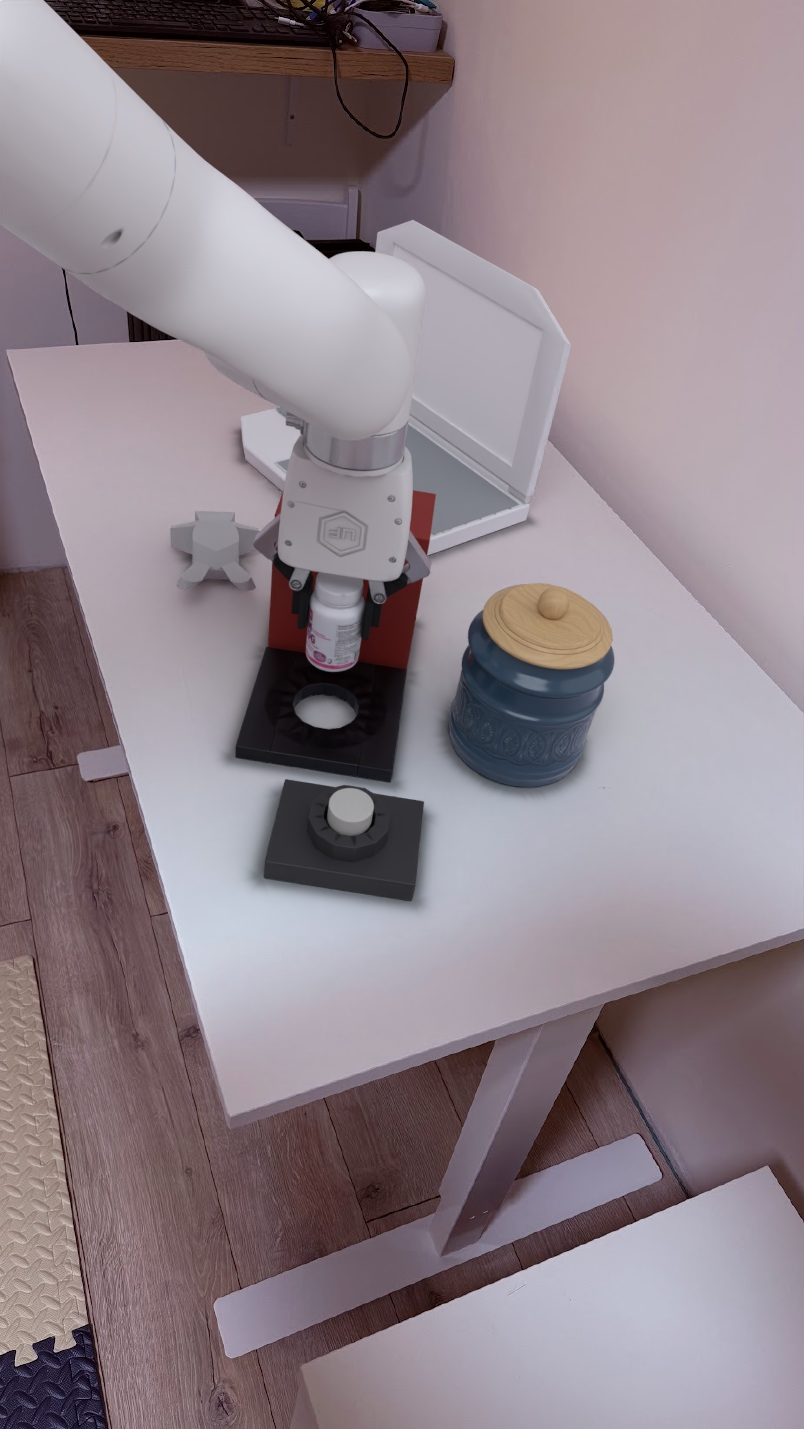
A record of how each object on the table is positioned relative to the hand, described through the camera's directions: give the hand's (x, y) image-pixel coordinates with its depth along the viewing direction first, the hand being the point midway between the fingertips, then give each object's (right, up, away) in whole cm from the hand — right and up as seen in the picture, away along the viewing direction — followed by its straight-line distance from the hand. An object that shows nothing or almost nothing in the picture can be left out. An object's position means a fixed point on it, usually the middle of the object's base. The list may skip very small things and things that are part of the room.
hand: (335, 623), depth 87 cm
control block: (+1, -19, -3) cm, 19 cm away
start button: (+1, -16, -6) cm, 17 cm away
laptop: (+2, +22, +40) cm, 45 cm away
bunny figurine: (-14, +8, +22) cm, 27 cm away
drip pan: (-1, -8, +8) cm, 11 cm away
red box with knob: (0, 0, +16) cm, 16 cm away
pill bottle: (-1, -3, +3) cm, 4 cm away
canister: (+16, -10, +9) cm, 21 cm away
